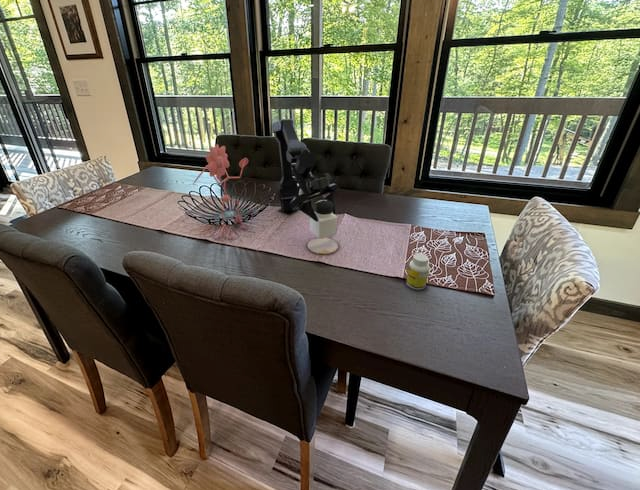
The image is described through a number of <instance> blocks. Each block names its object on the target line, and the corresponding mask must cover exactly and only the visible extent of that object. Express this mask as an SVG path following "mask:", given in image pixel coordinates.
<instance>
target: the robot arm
mask: <svg viewBox="0 0 640 490" xmlns="http://www.w3.org/2000/svg"><path fill="white" fill-rule="evenodd" d="M295 128H296V127H295V125H294V120H293V118H283V119H279V121H277V120H276V121H274V122H273V123H272V124H271V132H272V134H273V137H274V139H275V141H276V142H277V143H278V150H279V159H280V168H281V169H280V170H281V179H280V182H279V187H278V190H277V198H278V200H279V201H280V208H279V209H278V212H281V213H284V214H287V215H291V214H293V213H295V212H298V211H300V212H302V213H303V214H305V215H306V216H308V217H309V218H310V217H311V218H312V219H313V220H315V221H316V222H317V221H318V217H317V215H316V213H315V209H314V208H313V206H312V205H313V204H312V201H313V200H315V199H318V198H323V199H322V200H328V201H331V202H332V203H333V214H334V215H336V208H335V201H334V198H335V194H336V193H337V191H338V190H339V189H340V188H339V187H338V185H337V183H332V176H331V174H330V173H329V172H327V173H323V174H322V175H321V177H319V178H318V176H316V175H313V173H312V170H313V168H314V166H315V164H316V161H317V158H316V156H315V155H314V154H313V152H310V149H308V148H307V145H306V144H305V143H304V142H303V141H301V140H300V138H299V136H298V134H297V131H296V129H295ZM293 164H294V165H293ZM292 165H293V166H292ZM300 190H301V191H302V193H301V194H300Z"/></svg>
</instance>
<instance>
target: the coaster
mask: <svg viewBox="0 0 640 490" xmlns="http://www.w3.org/2000/svg"><path fill="white" fill-rule="evenodd" d="M306 247H307V249H308V250H309V251H310V252H311V253H313V254H317V255H330V254H334V253H335V252H336V251H338V248H339V245H338V243H337V241H336V240H334V239H332V238H329V237H325V238H322V239H319V238H318V237H316V238H312V239H311V240H309V241H308V242H307V246H306Z"/></svg>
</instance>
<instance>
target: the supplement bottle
mask: <svg viewBox="0 0 640 490" xmlns="http://www.w3.org/2000/svg"><path fill="white" fill-rule="evenodd" d="M429 259H430V258H429V257H428V255H426V254H424V253H418V252H417V253H414V254H413V257H412V259H411V260H410V262H409V264H408V269H407V276H406V283H405V284H406V285H407V286H408V287H409V288H410V289H413V290H418V291H419V290H420V291H421V290H423V289H425V288H426V286H427V283H428V277H429V273H430V266H431V265H430V264H429Z"/></svg>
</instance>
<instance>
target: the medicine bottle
mask: <svg viewBox="0 0 640 490" xmlns="http://www.w3.org/2000/svg"><path fill="white" fill-rule="evenodd" d="M314 212H315V213H316V215H317V217H318V221H317V222H316V221H315V220H313V219H312V218H311V217H309V231H310V232H311V233H312V234H313V235H314V236H315V237H316V238H319V239H322V238H329V237H333V236H336V235H337V234H338V218H339V217H338V216H337V215H336V214H333V203H332V202H331V201H328V200H323V199H319V200H317V201H316V202H315V204H314Z"/></svg>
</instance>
